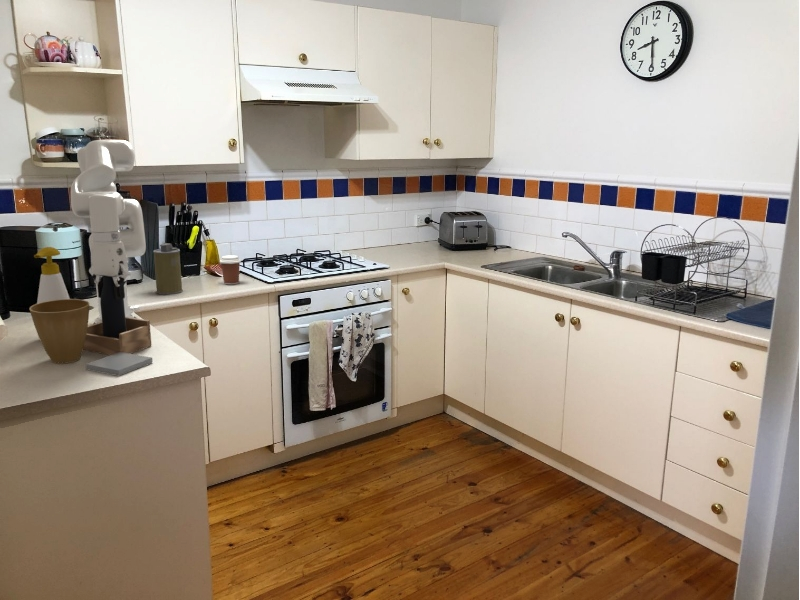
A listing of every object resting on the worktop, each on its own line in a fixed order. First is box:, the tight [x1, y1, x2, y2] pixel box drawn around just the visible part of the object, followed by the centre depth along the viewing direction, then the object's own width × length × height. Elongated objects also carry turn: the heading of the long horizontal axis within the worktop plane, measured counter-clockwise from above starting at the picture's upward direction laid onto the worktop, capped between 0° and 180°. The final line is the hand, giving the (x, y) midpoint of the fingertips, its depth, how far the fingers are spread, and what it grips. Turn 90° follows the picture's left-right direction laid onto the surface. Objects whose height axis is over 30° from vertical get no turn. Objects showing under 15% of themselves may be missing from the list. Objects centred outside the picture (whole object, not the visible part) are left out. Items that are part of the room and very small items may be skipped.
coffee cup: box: [219, 254, 242, 285], centre depth 290 cm, size 9×9×12 cm
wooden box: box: [83, 317, 152, 356], centre depth 197 cm, size 12×16×8 cm
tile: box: [85, 352, 154, 376], centre depth 182 cm, size 12×12×2 cm
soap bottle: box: [33, 246, 71, 304], centre depth 202 cm, size 13×10×29 cm
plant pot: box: [29, 298, 90, 364], centre depth 185 cm, size 15×15×16 cm
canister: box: [152, 242, 184, 295], centre depth 272 cm, size 11×10×20 cm
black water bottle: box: [100, 276, 126, 339], centre depth 195 cm, size 6×6×30 cm
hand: (111, 297), depth 195 cm, fingers closed on black water bottle, 5 cm apart
